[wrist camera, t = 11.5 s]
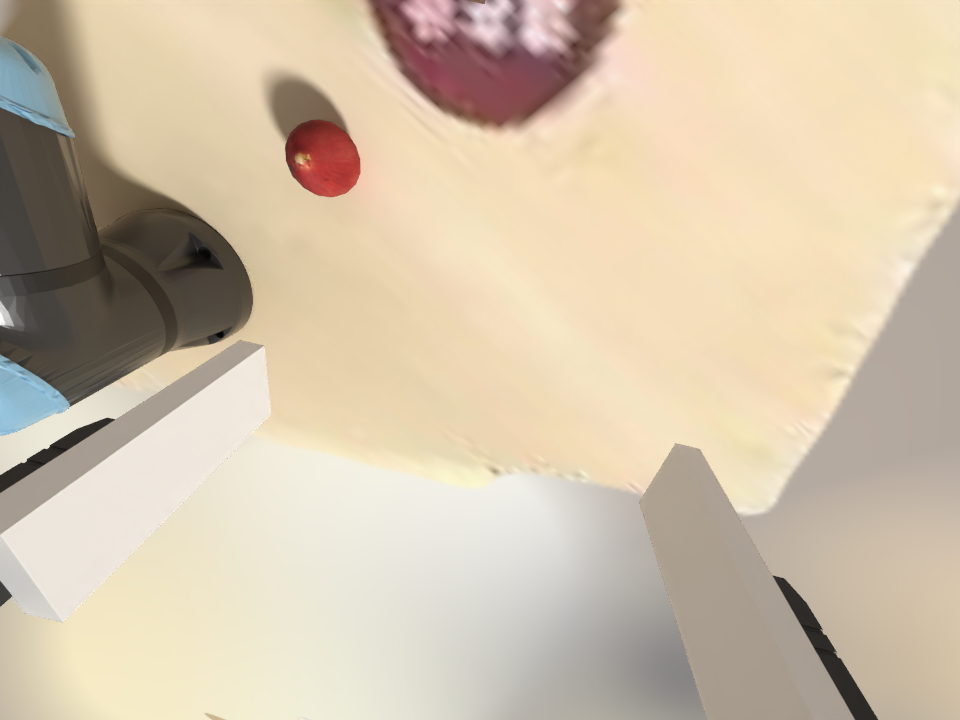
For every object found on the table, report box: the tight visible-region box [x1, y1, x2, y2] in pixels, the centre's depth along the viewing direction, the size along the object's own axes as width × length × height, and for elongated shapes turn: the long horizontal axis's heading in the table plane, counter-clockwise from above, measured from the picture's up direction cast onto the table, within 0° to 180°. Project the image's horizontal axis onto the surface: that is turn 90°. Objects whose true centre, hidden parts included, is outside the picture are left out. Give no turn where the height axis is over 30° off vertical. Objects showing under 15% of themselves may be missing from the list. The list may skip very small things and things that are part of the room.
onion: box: [285, 120, 360, 197], centre depth 32 cm, size 6×6×8 cm
